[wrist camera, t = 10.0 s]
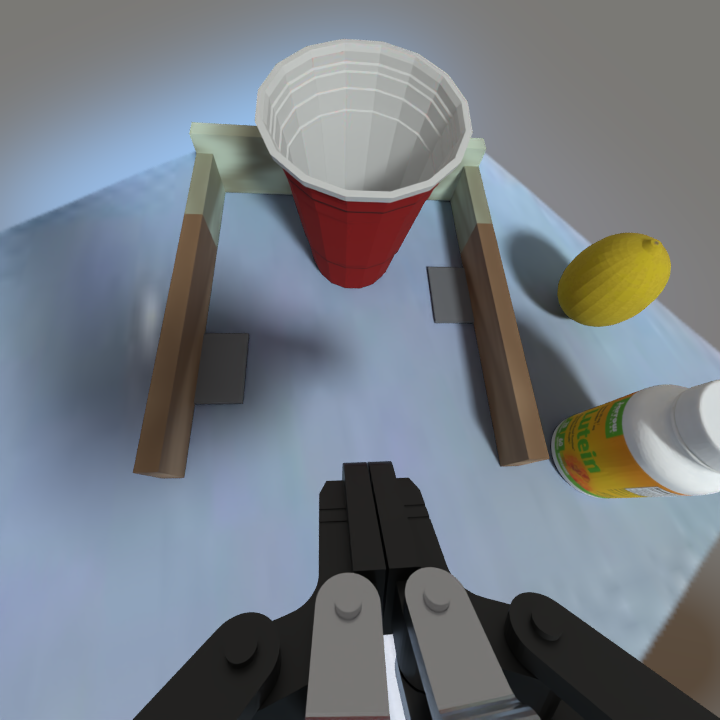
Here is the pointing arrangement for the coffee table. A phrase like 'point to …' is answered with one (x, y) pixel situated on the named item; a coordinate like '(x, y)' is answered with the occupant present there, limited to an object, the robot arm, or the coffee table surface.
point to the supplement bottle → (644, 444)
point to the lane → (263, 175)
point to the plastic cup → (361, 147)
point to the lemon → (614, 279)
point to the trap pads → (229, 350)
